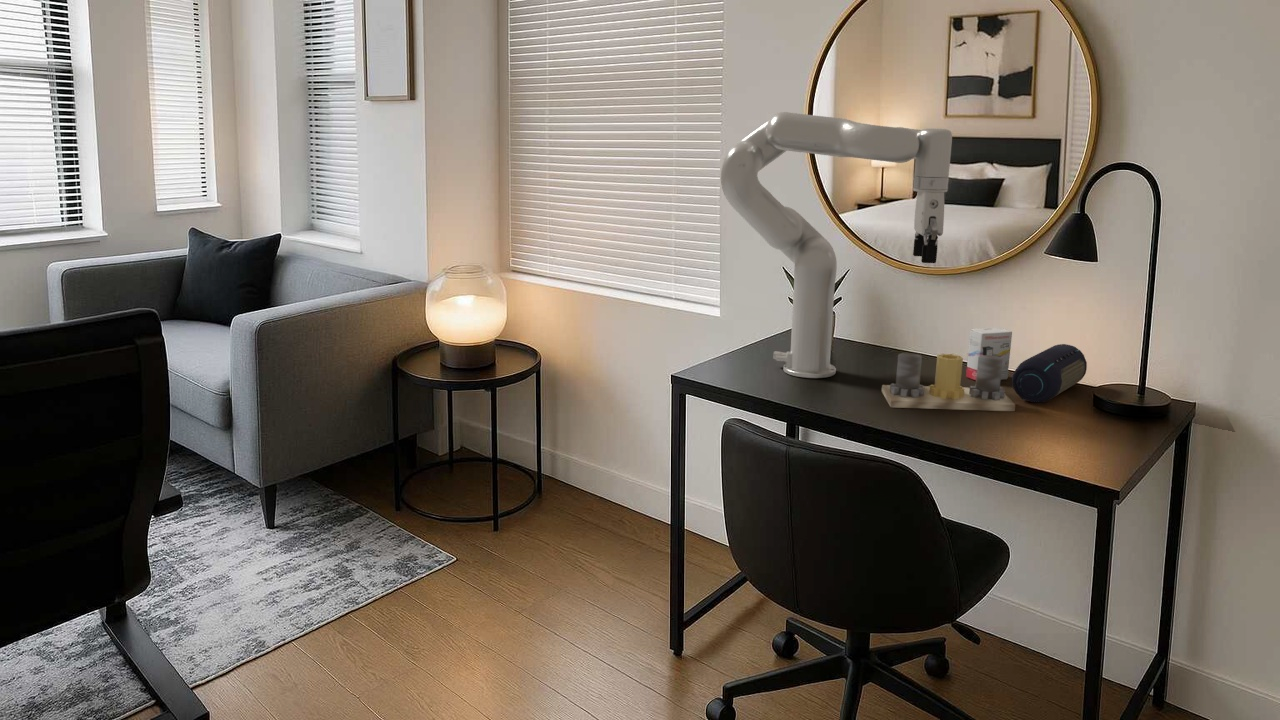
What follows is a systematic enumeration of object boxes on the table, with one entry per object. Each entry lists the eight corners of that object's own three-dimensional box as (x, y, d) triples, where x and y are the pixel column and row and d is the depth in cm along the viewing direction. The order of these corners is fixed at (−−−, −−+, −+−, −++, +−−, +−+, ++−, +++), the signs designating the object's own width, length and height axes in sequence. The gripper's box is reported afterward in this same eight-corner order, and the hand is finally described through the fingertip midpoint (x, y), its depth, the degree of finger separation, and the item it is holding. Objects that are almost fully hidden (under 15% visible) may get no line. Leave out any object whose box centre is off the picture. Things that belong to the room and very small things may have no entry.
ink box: (977, 382, 228) (982, 333, 225) (964, 376, 233) (969, 328, 230) (1008, 379, 231) (1014, 331, 227) (995, 374, 235) (1000, 326, 232)
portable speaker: (1050, 410, 208) (1056, 365, 205) (1004, 401, 214) (1009, 357, 212) (1089, 386, 226) (1094, 344, 224) (1045, 378, 233) (1050, 337, 230)
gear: (933, 398, 210) (936, 360, 208) (926, 389, 217) (929, 352, 215) (966, 399, 210) (970, 361, 208) (959, 390, 217) (962, 353, 214)
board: (890, 407, 209) (894, 362, 206) (881, 391, 220) (884, 348, 218) (1014, 411, 207) (1019, 366, 204) (998, 394, 219) (1003, 351, 216)
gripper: (956, 188, 212) (949, 265, 216) (939, 181, 228) (932, 254, 233) (921, 187, 212) (914, 265, 217) (906, 181, 229) (901, 253, 233)
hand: (924, 259), depth 225 cm, fingers open, 9 cm apart
